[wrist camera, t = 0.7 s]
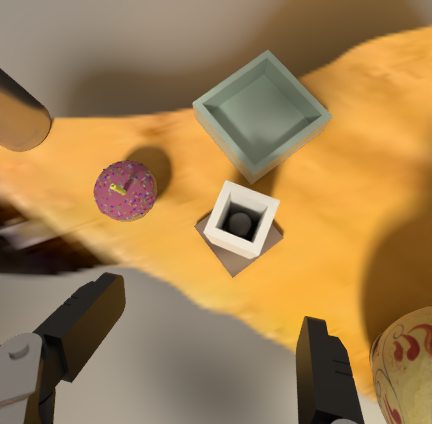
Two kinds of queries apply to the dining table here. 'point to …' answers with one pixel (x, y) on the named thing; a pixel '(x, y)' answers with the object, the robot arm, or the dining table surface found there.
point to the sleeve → (241, 203)
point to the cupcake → (125, 191)
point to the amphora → (404, 369)
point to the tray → (260, 116)
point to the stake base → (235, 258)
